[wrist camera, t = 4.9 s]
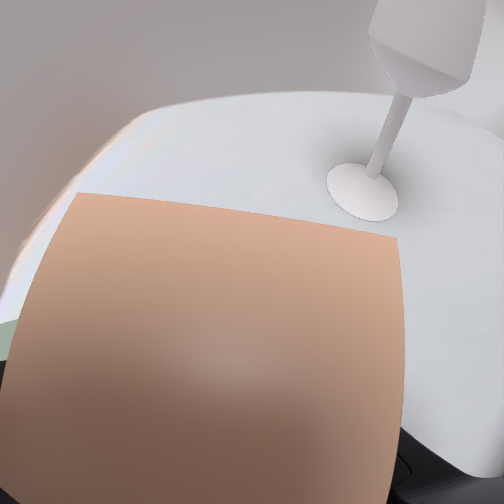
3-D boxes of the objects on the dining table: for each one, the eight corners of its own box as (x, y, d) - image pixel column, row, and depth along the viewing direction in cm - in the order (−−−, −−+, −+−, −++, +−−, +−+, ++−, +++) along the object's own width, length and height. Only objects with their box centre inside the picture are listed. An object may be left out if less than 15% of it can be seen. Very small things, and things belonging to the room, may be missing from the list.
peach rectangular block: (268, 454, 11) (358, 583, 1) (171, 436, 12) (-6, 481, 1) (282, 365, 14) (396, 238, 4) (189, 349, 14) (77, 192, 4)
